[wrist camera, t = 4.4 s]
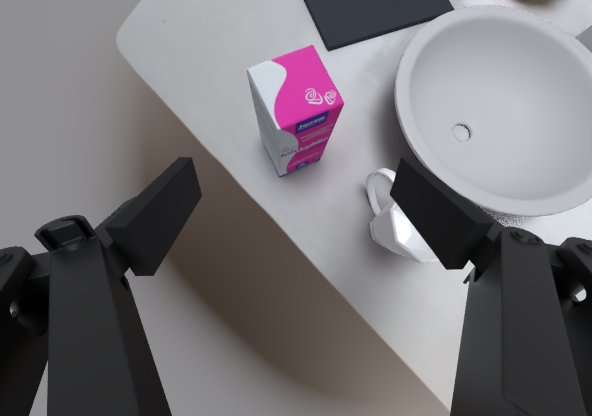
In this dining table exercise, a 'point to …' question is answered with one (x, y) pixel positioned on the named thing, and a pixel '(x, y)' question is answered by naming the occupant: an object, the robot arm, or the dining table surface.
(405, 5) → the mat
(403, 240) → the cup
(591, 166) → the white sink basin
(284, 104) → the supplement box
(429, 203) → the robot arm
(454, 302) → the dining table surface
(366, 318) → the dining table surface
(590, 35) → the mug
